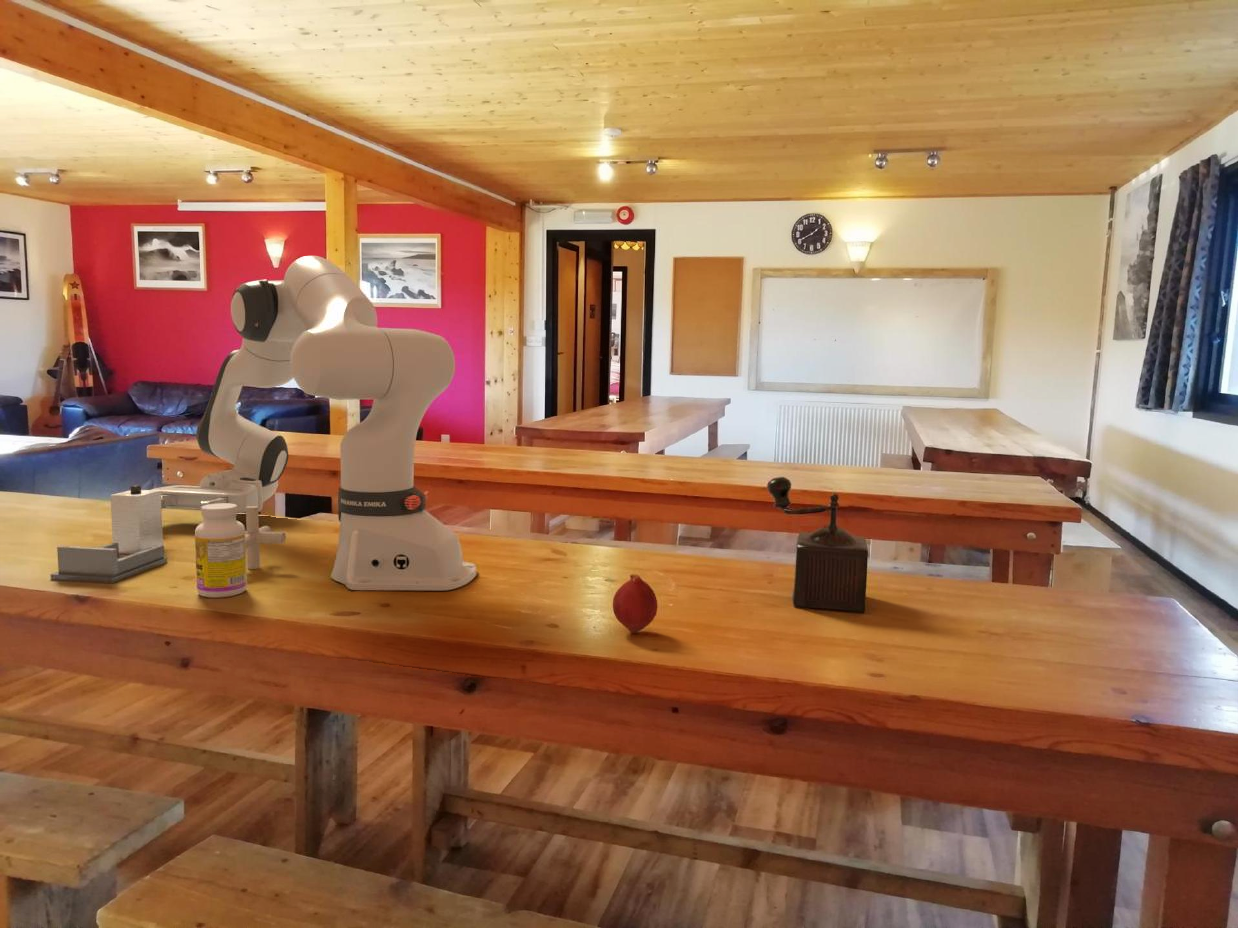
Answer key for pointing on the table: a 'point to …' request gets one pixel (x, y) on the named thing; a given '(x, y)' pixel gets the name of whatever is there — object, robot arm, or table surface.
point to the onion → (635, 604)
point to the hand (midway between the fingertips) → (180, 505)
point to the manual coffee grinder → (825, 560)
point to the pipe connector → (258, 537)
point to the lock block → (136, 519)
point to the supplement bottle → (220, 552)
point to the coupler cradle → (104, 563)
